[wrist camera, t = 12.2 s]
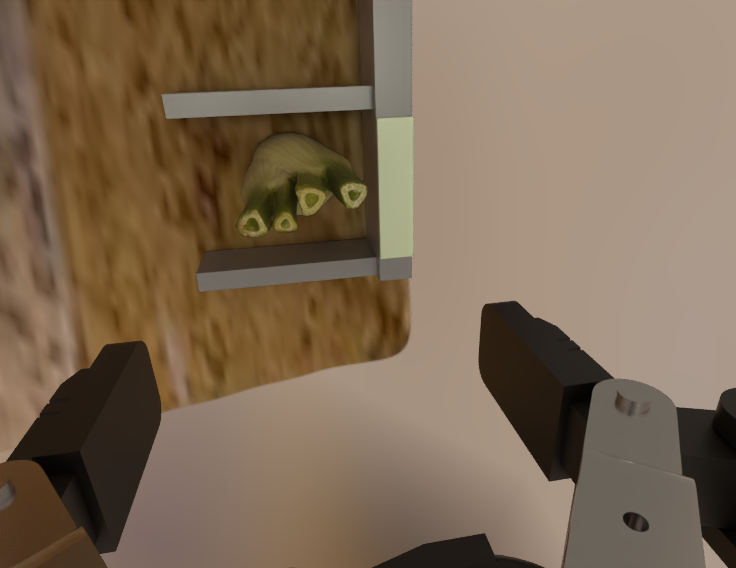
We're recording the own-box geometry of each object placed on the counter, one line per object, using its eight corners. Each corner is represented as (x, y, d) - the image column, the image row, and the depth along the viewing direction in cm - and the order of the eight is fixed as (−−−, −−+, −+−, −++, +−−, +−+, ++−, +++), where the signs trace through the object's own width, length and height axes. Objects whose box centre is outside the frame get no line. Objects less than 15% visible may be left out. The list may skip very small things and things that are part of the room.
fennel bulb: (343, 139, 31) (377, 172, 20) (330, 212, 33) (354, 279, 22) (252, 120, 30) (234, 146, 19) (243, 198, 31) (222, 262, 21)
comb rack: (138, -120, 24) (102, -170, 19) (389, -116, 26) (414, -160, 21) (208, 268, 33) (195, 301, 28) (394, 251, 35) (413, 280, 30)
